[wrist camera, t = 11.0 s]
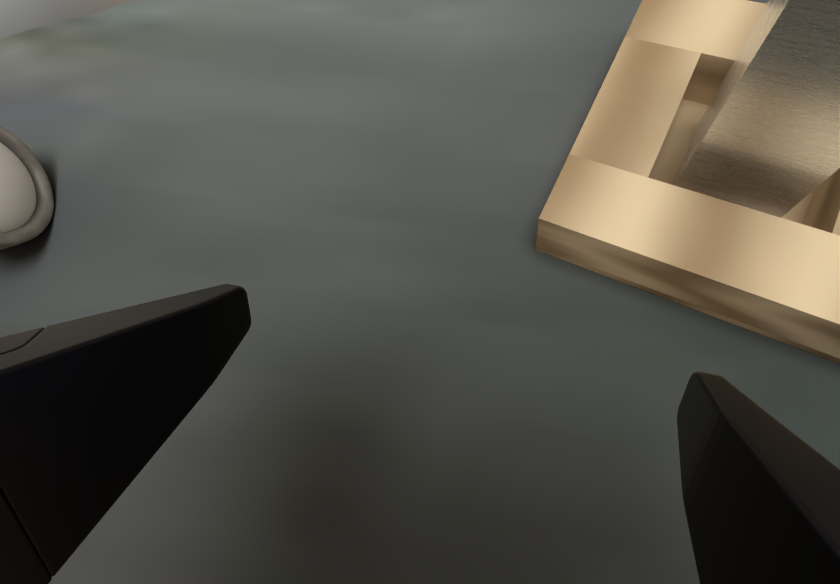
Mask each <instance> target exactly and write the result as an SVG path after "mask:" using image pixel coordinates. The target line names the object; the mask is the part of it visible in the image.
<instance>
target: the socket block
mask: <svg viewBox="0 0 840 584" xmlns="http://www.w3.org/2000/svg"><path fill="white" fill-rule="evenodd" d="M766 5H767V4H764V3H758V2H752V1H747V0H642V2H641V4H640V6H639V9H638V11H637V13H636V15H635V17H634V19H633V21H632V23H631V25H630V27H629V30H628V32H627V34H626V36H625V38H624V40H623V42H622V44H621V46H620V49H619V51H618V53H617V55H616V57H615V59H614V61H613V63H612V65H611V67H610V70H609V72H608V74H607V76H606V78H605V80H604V82H603V84H602V86H601V89H600V91H599V93H598V95H597V97H596V99H595V101H594V103H593V105H592V108H591V110H590V112H589V114H588V116H587V118H586V120H585V122H584V124H583V126H582V129H581V131H580V133H579V135H578V137H577V139H576V141H575V143H574V145H573V148H572V150H571V152H570V154H569V156H568V158H567V160H566V162H565V164H564V166H563V169H562V171H561V173H560V175H559V177H558V179H557V181H556V183H555V185H554V188H553V190H552V192H551V194H550V196H549V198H548V200H547V202H546V204H545V206H544V209H543V211H542V213H541V215H540V217H539V221H538V230H537V239H536V248H535V250H537V251H540V252H543V253H545V254H548V255H551V256H553V257H556V258H559V259H561V260H564V261H567V262H569V263H572V264H575V265H577V266H580V267H583V268H585V269H588V270H591V271H593V272H596V273H599V274H601V275H604V276H607V277H609V278H612V279H615V280H617V281H620V282H623V283H625V284H628V285H631V286H633V287H636V288H639V289H641V290H644V291H647V292H649V293H652V294H655V295H658V296H660V297H663V298H666V299H668V300H671V301H674V302H676V303H679V304H682V305H684V306H687V307H690V308H692V309H695V310H698V311H700V312H703V313H706V314H708V315H711V316H714V317H716V318H719V319H722V320H724V321H727V322H730V323H732V324H735V325H738V326H740V327H743V328H746V329H748V330H751V331H754V332H756V333H759V334H762V335H764V336H767V337H770V338H772V339H775V340H778V341H780V342H783V343H786V344H788V345H791V346H794V347H796V348H799V349H802V350H804V351H807V352H810V353H812V354H815V355H818V356H820V357H823V358H826V359H828V360H831V361H834V362H836V363H839V364H840V168H839V169H838V170H837V171H835V172H834V173H833V174H832V175H831V176H830V177H828V178H827V179H826V180H825V181H824V182H823V183H821V184H820V185H819V186H818V187H817V188H815V189H814V190H813V191H812V192H811V193H810V194H808V195H807V196H806V197H805V198H804V199H803V200H801V201H800V202H799V203H798V204H797V205H795V206H794V207H793V208H792V209H791V210H790V211H788V212H787V213H786V214H785V215H784V216H783V217H781V218H780V217H777V216H773V215H770V214H767V213H764V212H760V211H757V210H754V209H750V208H747V207H744V206H740V205H737V204H734V203H730V202H727V201H724V200H721V199H717V198H714V197H711V196H707V195H704V194H701V193H697V192H694V191H691V190H688V189H684V188H681V187H678V186H674V185H672V184H673V182H674V179H675V177H676V175H677V172H678V170H679V168H680V165H681V163H682V161H683V158H684V156H685V154H686V151H687V149H688V146H689V144H690V142H691V139H692V137H693V135H694V132H695V130H696V128H697V125H698V123H699V121H700V120H701V118H702V116H703V114H704V113H705V111H706V109H707V107H708V106H709V104H710V102H711V100H712V99H713V97H714V95H715V94H716V92H717V90H718V88H719V87H720V85H721V83H722V81H723V80H724V78H725V76H726V74H727V73H728V71H729V69H730V67H731V66H732V64H733V62H734V60H735V59H736V57H737V55H738V54H739V52H740V50H741V48H742V47H743V45H744V43H745V41H746V40H747V38H748V36H749V34H750V33H751V31H752V29H753V27H754V26H755V24H756V22H757V21H758V19H759V17H760V15H761V14H762V12H763V10H764V8H765V7H766Z"/></svg>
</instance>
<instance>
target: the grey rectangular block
mask: <svg viewBox="0 0 840 584" xmlns="http://www.w3.org/2000/svg"><path fill="white" fill-rule="evenodd" d="M839 168H840V0H769V1H768V3H767V5H766V7H765V8H764V10H763V12H762V14H761V15H760V17H759V19H758V21H757V22H756V24H755V26H754V27H753V29H752V31H751V33H750V34H749V36H748V38H747V40H746V41H745V43H744V45H743V47H742V48H741V50H740V52H739V54H738V55H737V57H736V59H735V60H734V62H733V64H732V66H731V67H730V69H729V71H728V73H727V74H726V76H725V78H724V80H723V81H722V83H721V85H720V87H719V88H718V90H717V92H716V94H715V95H714V97H713V99H712V100H711V102H710V104H709V106H708V107H707V109H706V111H705V113H704V114H703V116H702V118H701V120H700V121H699V123H698V125H697V128H696V130H695V132H694V135H693V137H692V139H691V142H690V144H689V146H688V149H687V151H686V154H685V156H684V158H683V161H682V163H681V165H680V168H679V170H678V172H677V175H676V177H675V179H674V182H673V184H672V185H674V186H678V187H681V188H684V189H688V190H691V191H694V192H697V193H701V194H704V195H707V196H711V197H714V198H717V199H721V200H724V201H727V202H730V203H734V204H737V205H740V206H744V207H747V208H750V209H754V210H757V211H760V212H764V213H767V214H770V215H773V216H777V217H780V218H781V217H783V216H784V215H785V214H786V213H787V212H788V211H790V210H791V209H792V208H793V207H794V206H795V205H797V204H798V203H799V202H800V201H801V200H803V199H804V198H805V197H806V196H807V195H808V194H810V193H811V192H812V191H813V190H814V189H815V188H817V187H818V186H819V185H820V184H821V183H823V182H824V181H825V180H826V179H827V178H828V177H830V176H831V175H832V174H833V173H834V172H835V171H837V170H838V169H839Z"/></svg>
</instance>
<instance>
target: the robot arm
mask: <svg viewBox="0 0 840 584" xmlns="http://www.w3.org/2000/svg"><path fill="white" fill-rule="evenodd" d="M250 325H251V315H250V309H249V303H248V297H247V293H246V291H245V289H244V288H243V287H240V286H235V285H230V284H224V285H219V286H215V287H211V288H207V289H203V290H198V291H194V292H190V293H186V294H182V295H177V296H173V297H169V298H165V299H161V300H156V301H152V302H148V303H144V304H140V305H135V306H131V307H127V308H123V309H118V310H114V311H110V312H106V313H102V314H97V315H93V316H89V317H85V318H81V319H76V320H72V321H68V322H64V323H60V324H55V325H51V326H48V327H46V328H38V329H34V330H30V331H26V332H21V333H17V334H13V335H8V336H4V337H0V584H48V583H49V582H50V581H51V579H52V576H54V575H55V574H56V573H57V572H58V571H59V569H60V568H61V567H62V566H63V565H64V563H65V562H66V561H67V560H68V558H69V557H70V556H71V555H72V554H73V552H74V551H75V550H76V549H77V548H78V546H79V545H80V544H81V543H82V542H83V540H84V539H85V538H86V537H87V535H88V534H89V533H90V532H91V531H92V529H93V528H94V527H95V526H96V525H97V523H98V522H99V521H100V520H101V518H102V517H103V516H104V515H105V514H106V512H107V511H108V510H109V509H110V508H111V506H112V505H113V504H114V503H115V502H116V500H117V499H118V498H119V497H120V495H121V494H122V493H123V492H124V491H125V489H126V488H127V487H128V486H129V485H130V483H131V482H132V481H133V480H134V478H135V477H136V476H137V475H138V474H139V472H140V471H141V470H142V469H143V468H144V466H145V465H146V464H147V463H148V462H149V460H150V459H151V458H152V457H153V455H154V454H155V453H156V452H157V451H158V449H159V448H160V447H161V446H162V445H163V443H164V442H165V441H166V440H167V438H168V437H169V436H170V435H171V434H172V432H173V431H174V430H175V429H176V428H177V426H178V425H179V424H180V423H181V421H182V420H183V419H184V418H185V417H186V415H187V414H188V413H189V412H190V411H191V409H192V408H193V407H194V406H195V405H196V403H197V402H198V401H199V400H200V398H201V397H202V396H203V395H204V394H205V392H206V391H207V390H208V389H209V387H210V386H211V385H212V384H213V382H214V381H215V379H216V378H217V377H218V375H219V374H220V372H221V371H222V369H223V368H224V366H225V365H226V363H227V362H228V360H229V359H230V357H231V356H232V354H233V353H234V351H235V350H236V348H237V347H238V345H239V344H240V342H241V341H242V339H243V338H244V336H245V335H246V333H247V332H248V330H249V328H250ZM677 425H678V439H679V453H680V467H681V481H682V492H683V500H684V506H685V512H686V517H687V522H688V526H689V531H690V536H691V541H692V546H693V551H694V556H695V561H696V566H697V570H698V575H699V580H700V584H840V470H839V469H838V468H837V467H836V466H834V465H833V464H832V463H830V462H829V461H828V460H827V459H825V458H824V457H823V456H822V455H820V454H819V453H818V452H817V451H815V450H814V449H813V448H812V447H810V446H809V445H808V444H807V443H805V442H804V441H803V440H801V439H800V438H799V437H798V436H796V435H795V434H794V433H793V432H791V431H790V430H789V429H788V428H786V427H785V426H784V425H783V424H781V423H780V422H779V421H778V420H776V419H775V418H774V417H773V416H771V415H770V414H769V413H767V412H766V411H765V410H764V409H762V408H761V407H760V406H759V405H757V404H756V403H755V402H754V401H752V400H751V399H750V398H749V397H747V396H746V395H745V394H744V393H742V392H741V391H740V390H739V389H737V388H736V387H735V386H733V385H732V384H731V383H730V382H728V381H727V380H726V379H725V378H723V377H722V376H720V375H715V374H710V373H705V372H695V373H693V374H692V375H691V377H690V379H689V382H688V384H687V387H686V390H685V392H684V395H683V398H682V400H681V403H680V405H679V409H678V414H677Z"/></svg>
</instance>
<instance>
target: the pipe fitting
mask: <svg viewBox="0 0 840 584" xmlns="http://www.w3.org/2000/svg"><path fill="white" fill-rule="evenodd" d="M53 210H54V199H53V193H52V189H51V185H50V182H49V179H48V177H47V175H46V173H45V171H44V169H43V167H42V165H41V164H40V162H39V161H38V159H37V158H36V157H35V155H34V154H33V153H32V152H31V150H30V149H29V148H28V147H27V146H26V145H25V144H24V143H23V142H22V141H21V140H20V139H19V138H17V137H16V136H15V135H14V134H12V133H11V132H9V131H8V130H6V129H5V128H3V127H1V126H0V250H2V249H6V248H9V247H12V246H15V245H18V244H21V243H24V242H27V241H29V240H31V239H33V238H35V237H37V236H38V235H39V234H40V233H42V232H43V231H44V230H45V229H46V227H47V226H48V224H49V222H50V220H51V218H52V215H53Z"/></svg>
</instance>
